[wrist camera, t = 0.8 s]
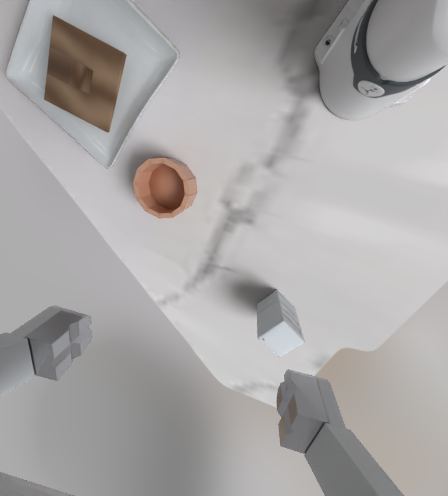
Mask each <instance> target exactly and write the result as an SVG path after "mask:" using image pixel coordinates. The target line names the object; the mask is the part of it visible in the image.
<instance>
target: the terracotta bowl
mask: <svg viewBox="0 0 448 496" xmlns="http://www.w3.org/2000/svg"><path fill="white" fill-rule="evenodd" d="M133 183H134V184H133V187H134V191H135V196H136V199H137V201H138V202H139V203H140V205H141V206H142V207H143V209H144V210H145V211H146V212H148V213H150V214H152V215H154V216H156V217H158V218H173V217H175V216H176V215H178V214H180V213H181V212H183V211H184V210H185V209H187V208H188V207H190V206H191V205H192V204H193V201H194V199H195V197H196V194H197V186H196V178H195V176H194V175H193V173H192V172H191V170H190V169H189V167H188V166H187V165H185V164H183V163H182V162H180V161H178V160H176V159H172V158H154V159H148V160H146V161H145V162H144V163H143V164H142V165H141V166H140V167H138V168H137V171H136V174H135V178H134V181H133Z"/></svg>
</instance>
